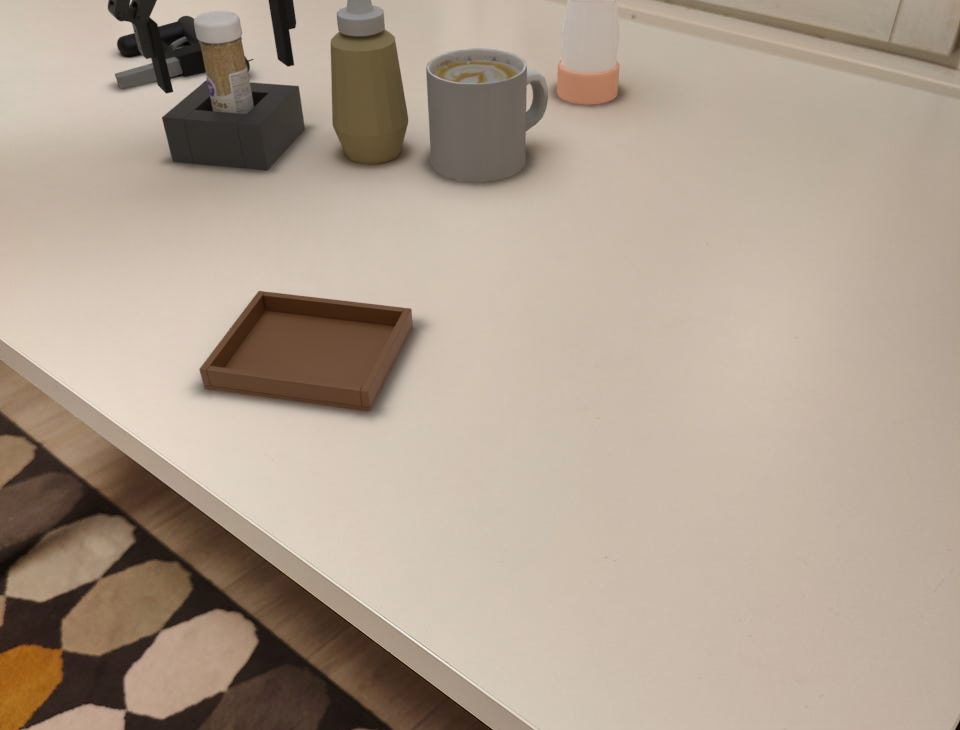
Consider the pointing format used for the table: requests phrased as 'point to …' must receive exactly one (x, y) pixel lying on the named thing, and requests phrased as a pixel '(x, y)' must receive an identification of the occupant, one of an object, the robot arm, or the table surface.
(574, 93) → the pepper shaker
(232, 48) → the sprinkles bottle
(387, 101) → the squeeze bottle
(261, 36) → the table surface
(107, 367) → the table surface
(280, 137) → the socket base
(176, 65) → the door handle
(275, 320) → the tray
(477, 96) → the coffee mug
